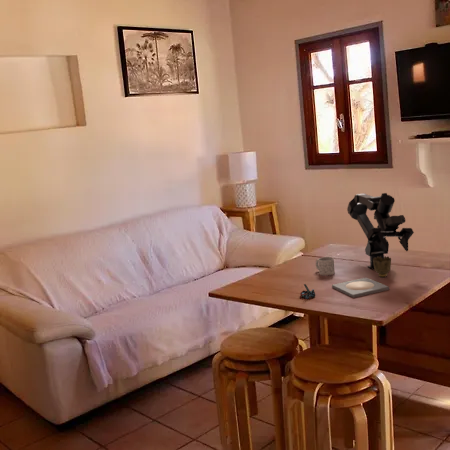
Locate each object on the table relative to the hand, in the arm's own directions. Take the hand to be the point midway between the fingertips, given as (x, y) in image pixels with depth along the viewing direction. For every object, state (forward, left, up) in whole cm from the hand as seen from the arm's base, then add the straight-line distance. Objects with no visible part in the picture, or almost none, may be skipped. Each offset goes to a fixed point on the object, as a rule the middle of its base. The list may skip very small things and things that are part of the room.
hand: (397, 250), depth 235 cm
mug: (-30, -18, -13) cm, 37 cm away
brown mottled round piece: (-9, -2, -13) cm, 15 cm away
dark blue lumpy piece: (-5, -39, -13) cm, 41 cm away
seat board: (-1, -18, -12) cm, 22 cm away
